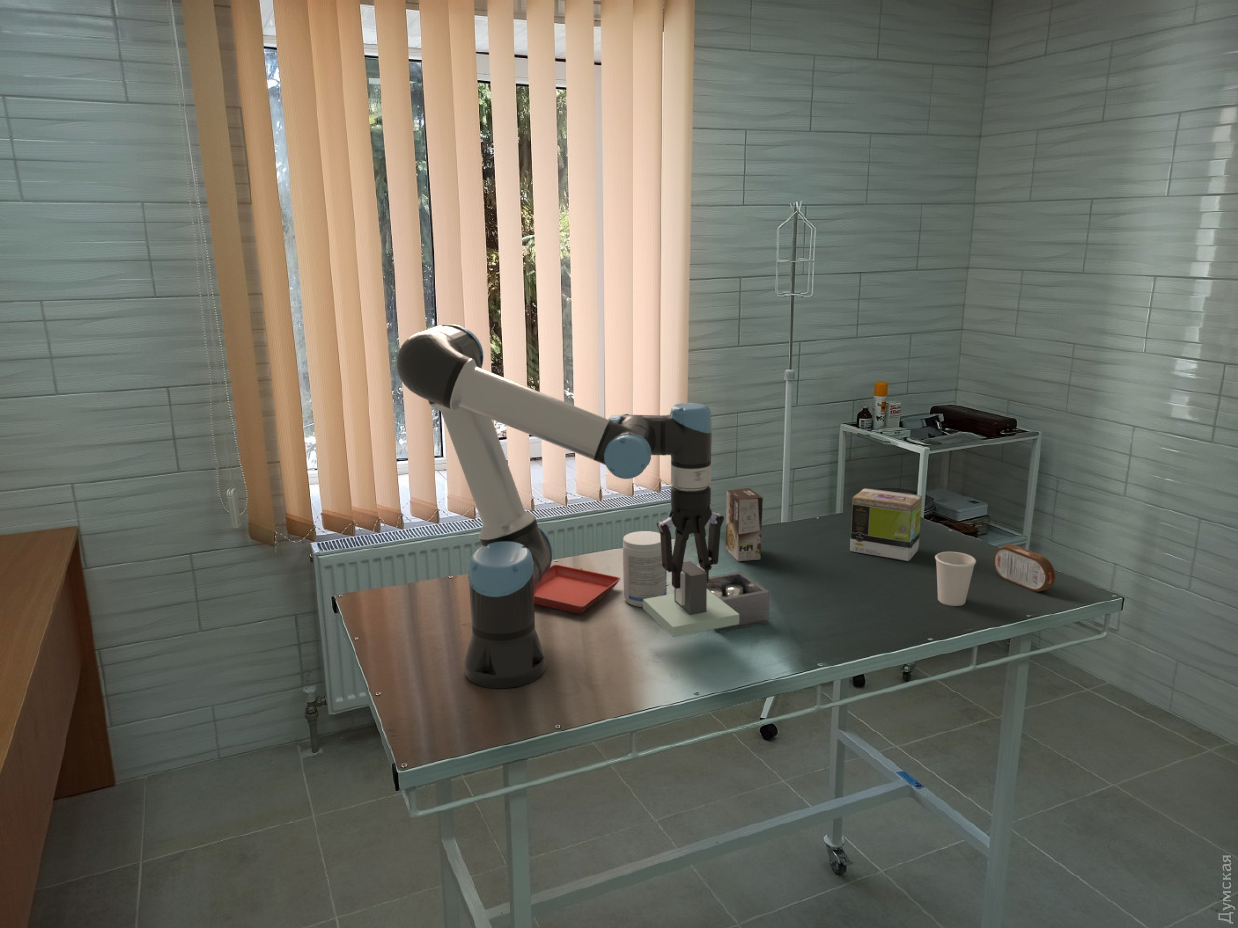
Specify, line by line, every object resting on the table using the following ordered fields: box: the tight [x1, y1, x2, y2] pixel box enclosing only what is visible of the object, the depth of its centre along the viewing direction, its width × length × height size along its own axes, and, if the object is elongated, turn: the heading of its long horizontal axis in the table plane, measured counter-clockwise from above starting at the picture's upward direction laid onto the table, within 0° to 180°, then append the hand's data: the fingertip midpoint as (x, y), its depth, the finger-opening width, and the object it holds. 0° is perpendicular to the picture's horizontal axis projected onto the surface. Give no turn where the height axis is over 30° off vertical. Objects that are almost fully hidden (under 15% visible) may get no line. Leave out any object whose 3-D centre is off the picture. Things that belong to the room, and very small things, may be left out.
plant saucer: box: [534, 564, 621, 614], centre depth 201 cm, size 18×18×3 cm
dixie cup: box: [934, 551, 977, 607], centre depth 195 cm, size 8×8×10 cm
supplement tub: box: [622, 530, 668, 608], centre depth 197 cm, size 10×10×15 cm
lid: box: [642, 560, 739, 638], centre depth 174 cm, size 14×14×10 cm
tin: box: [993, 543, 1056, 592], centre depth 204 cm, size 15×3×8 cm, turn 27°
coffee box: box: [725, 487, 764, 562], centre depth 223 cm, size 9×6×16 cm
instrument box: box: [707, 571, 770, 634], centre depth 189 cm, size 12×12×7 cm
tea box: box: [849, 487, 923, 562], centre depth 225 cm, size 15×10×15 cm
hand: (690, 600), depth 174 cm, fingers closed on lid, 3 cm apart
